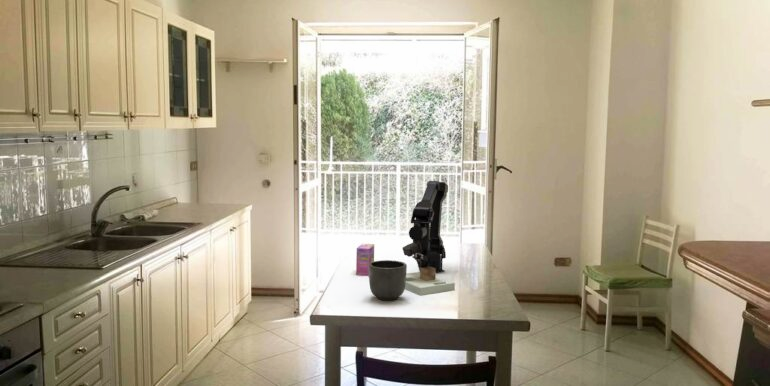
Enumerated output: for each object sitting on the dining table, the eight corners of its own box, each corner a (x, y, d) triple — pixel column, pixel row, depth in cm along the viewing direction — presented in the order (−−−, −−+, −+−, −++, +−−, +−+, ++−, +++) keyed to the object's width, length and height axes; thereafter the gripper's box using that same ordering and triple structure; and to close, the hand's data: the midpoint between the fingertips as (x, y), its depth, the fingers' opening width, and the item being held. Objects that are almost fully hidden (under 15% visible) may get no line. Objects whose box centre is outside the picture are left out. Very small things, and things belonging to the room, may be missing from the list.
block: (429, 277, 251) (429, 266, 250) (435, 279, 247) (435, 268, 247) (419, 278, 249) (420, 267, 248) (426, 280, 245) (426, 269, 244)
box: (369, 275, 261) (369, 248, 260) (356, 275, 262) (356, 247, 261) (374, 270, 271) (374, 244, 270) (361, 269, 273) (361, 243, 271)
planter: (379, 305, 217) (379, 270, 216) (362, 296, 229) (362, 262, 228) (413, 301, 223) (413, 266, 222) (395, 291, 236) (395, 258, 234)
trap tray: (419, 276, 261) (419, 269, 260) (454, 290, 239) (454, 283, 239) (386, 280, 253) (386, 274, 252) (420, 295, 231) (420, 288, 231)
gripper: (394, 234, 254) (393, 271, 256) (418, 241, 238) (417, 281, 239) (416, 232, 259) (416, 268, 261) (442, 239, 243) (441, 278, 245)
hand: (421, 274), depth 251 cm, fingers closed
